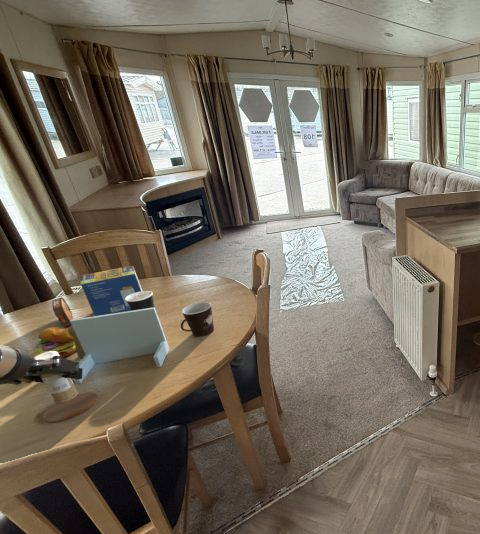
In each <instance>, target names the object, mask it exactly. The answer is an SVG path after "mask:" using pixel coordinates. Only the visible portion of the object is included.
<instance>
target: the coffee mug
mask: <svg viewBox="0 0 480 534" xmlns="http://www.w3.org/2000/svg"><path fill="white" fill-rule="evenodd" d="M181 313H182V316H183V317H184V319H183V320H182V321H181V322H180V329H181V330H182V331H184V332H191V333H192V335H193V336H194V337H196V338H201V337H202V338H203V337H206V336H208V335H211V334H212V333H213V332H214V331H215V325H214V318H213V317H214V316H213V310H212V304H211V303H210V302H208V301H199V302H193V303H191V304H188V305H186V306H185V307H184V308H182V309H181ZM185 323H187V325H188V327H189V329H186V328H184V324H185Z"/></svg>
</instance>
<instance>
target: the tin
mask: <svg viewBox="0 0 480 534" xmlns="http://www.w3.org/2000/svg"><path fill="white" fill-rule="evenodd" d="M66 301H67V300H65V299H64V297H63V296H60V297H57V298H54V299H52V301H51V302H52V303H51V304H52V305H51V306H52V311H53V313H54V315H55V317H56V318H57V319H58V321H59V323H60V325H61V326H62V327H68V326H70V325H71V323H70V321H71V320H73V319H74V316H72V315H73V313H72V310H71V308H70V307H69V305H68V303H67V302H66ZM71 326H72V325H71Z"/></svg>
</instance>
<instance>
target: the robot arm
mask: <svg viewBox="0 0 480 534" xmlns="http://www.w3.org/2000/svg"><path fill="white" fill-rule="evenodd" d="M79 363H80V361H75V360H73V359H72V360H71V359H68V358H65V357H62V358H61V356H53V358H50V360H42V359H35V358H34V357H32V355H30V353H29V352H27V351H26V350H24V349H21V348H16V347H12V346H8V345H4V344H0V385H16V386H17V385H21V384H22V382H23V383H25V384H30V383H33V382H34V383H39V384H44V382H43V381H42V379H41V377H40V375H43V374H52V375H62V377H64V378H71V379H73V380H74V379H82V370H83V369H82V368H79Z"/></svg>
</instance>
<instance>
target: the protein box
mask: <svg viewBox="0 0 480 534" xmlns="http://www.w3.org/2000/svg"><path fill="white" fill-rule="evenodd" d="M80 286H81V288H82V291H83V293H84V295H85V298H86V300H87V302H88V304H89V306H90V309H91V312H92V314H93V316H100V315H107V314H114V313H120V312H127V311H132V310H131V308H130V306H129V304H128V303H127V301H125V298H126V297H127V296H128V295H131V294H133V293H136V292H141V291H143V288H142V286H141V283H140V280H139V278H138V275H137V273H136V269H135V267H134V266H133V265H128V266H123V267H118V268H113V269H108V270H103V271H97V272H93V273H87V274H81V277H80Z"/></svg>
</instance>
